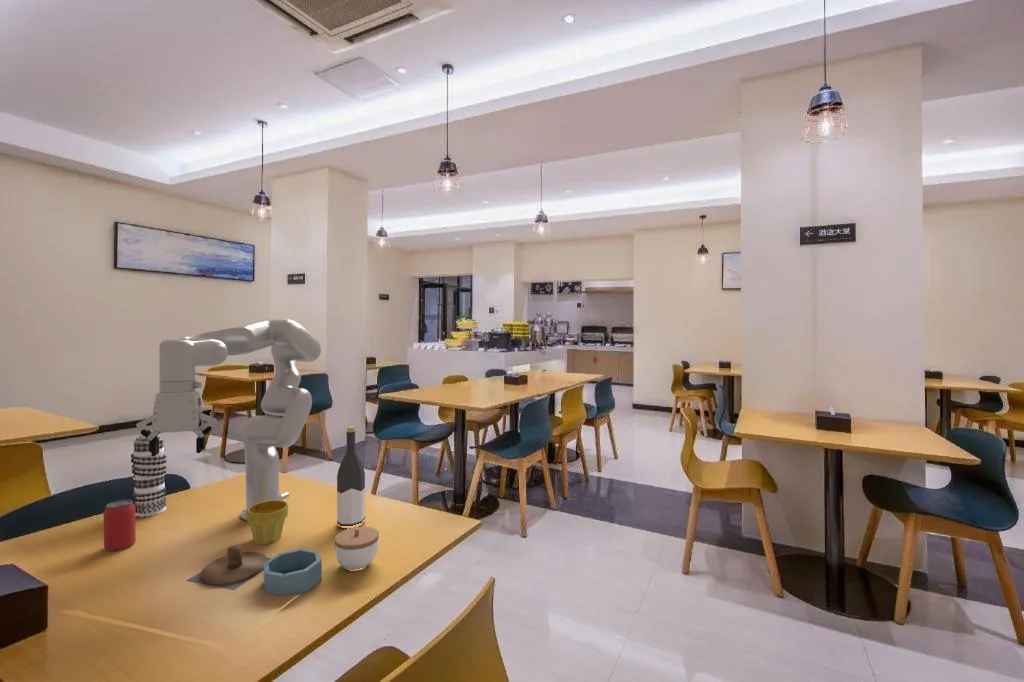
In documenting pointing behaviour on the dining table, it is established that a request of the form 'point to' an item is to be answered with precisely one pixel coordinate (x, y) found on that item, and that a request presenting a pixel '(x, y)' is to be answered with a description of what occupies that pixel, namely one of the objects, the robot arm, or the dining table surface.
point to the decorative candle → (148, 478)
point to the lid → (233, 567)
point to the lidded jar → (356, 547)
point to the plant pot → (267, 520)
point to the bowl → (292, 572)
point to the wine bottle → (350, 485)
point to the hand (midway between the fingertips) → (177, 453)
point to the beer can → (119, 525)
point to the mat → (231, 586)
